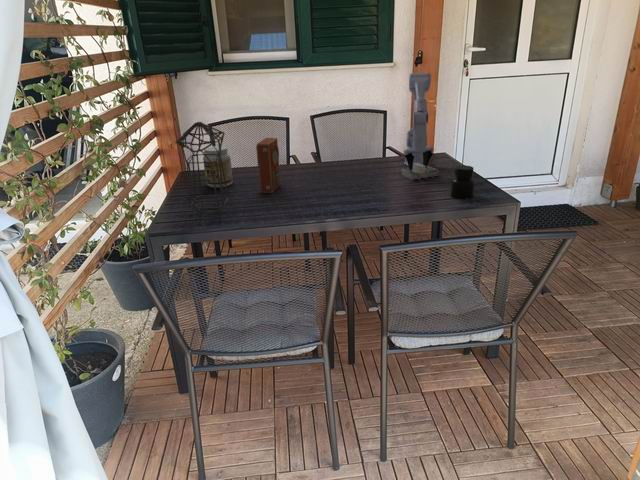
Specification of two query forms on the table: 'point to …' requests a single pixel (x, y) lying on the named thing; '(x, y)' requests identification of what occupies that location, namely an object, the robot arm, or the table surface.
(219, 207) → the geometric lantern
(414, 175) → the rack
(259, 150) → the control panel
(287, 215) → the table surface
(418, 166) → the beige rectangular block
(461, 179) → the ink bottle
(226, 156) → the supplement tub
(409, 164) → the robot arm
